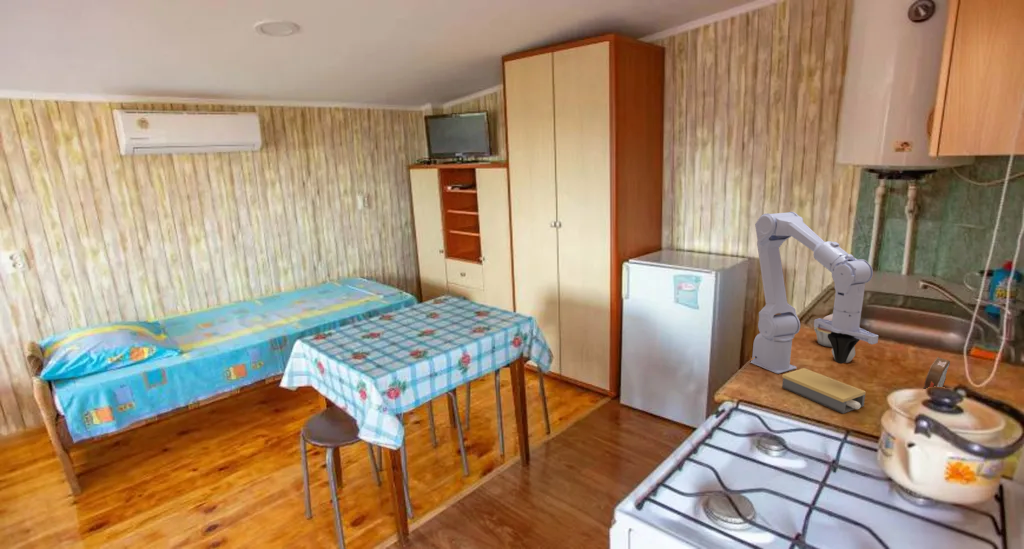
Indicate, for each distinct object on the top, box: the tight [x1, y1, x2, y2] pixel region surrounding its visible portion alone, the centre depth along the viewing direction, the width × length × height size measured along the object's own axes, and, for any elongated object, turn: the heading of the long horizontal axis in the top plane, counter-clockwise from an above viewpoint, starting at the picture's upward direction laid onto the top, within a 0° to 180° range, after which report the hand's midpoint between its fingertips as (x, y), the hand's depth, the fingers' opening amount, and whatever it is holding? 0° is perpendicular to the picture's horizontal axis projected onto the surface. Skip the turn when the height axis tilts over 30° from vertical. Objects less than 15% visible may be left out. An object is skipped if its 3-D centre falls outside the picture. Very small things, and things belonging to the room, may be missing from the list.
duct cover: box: [782, 367, 867, 402], centre depth 130 cm, size 16×8×1 cm, turn 26°
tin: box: [922, 356, 951, 390], centre depth 131 cm, size 15×3×8 cm, turn 133°
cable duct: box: [781, 378, 866, 414], centre depth 131 cm, size 18×8×3 cm, turn 26°
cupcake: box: [814, 313, 833, 348], centre depth 164 cm, size 9×9×10 cm
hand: (840, 362), depth 129 cm, fingers closed
